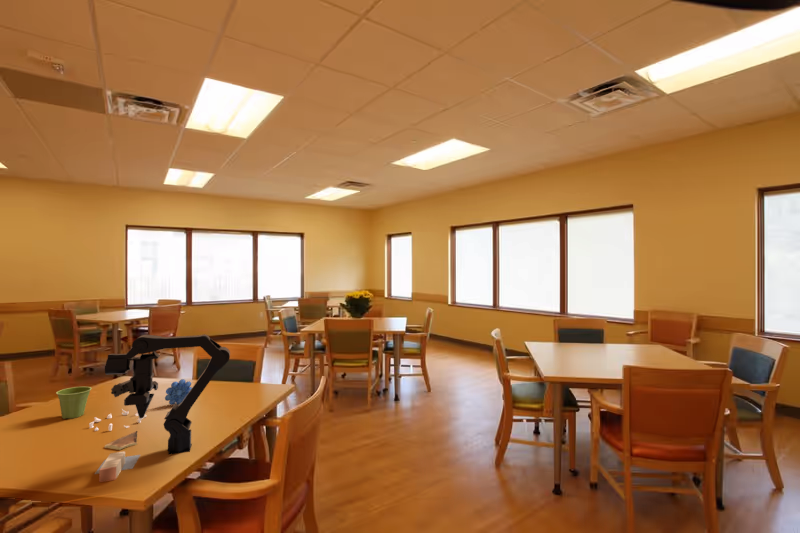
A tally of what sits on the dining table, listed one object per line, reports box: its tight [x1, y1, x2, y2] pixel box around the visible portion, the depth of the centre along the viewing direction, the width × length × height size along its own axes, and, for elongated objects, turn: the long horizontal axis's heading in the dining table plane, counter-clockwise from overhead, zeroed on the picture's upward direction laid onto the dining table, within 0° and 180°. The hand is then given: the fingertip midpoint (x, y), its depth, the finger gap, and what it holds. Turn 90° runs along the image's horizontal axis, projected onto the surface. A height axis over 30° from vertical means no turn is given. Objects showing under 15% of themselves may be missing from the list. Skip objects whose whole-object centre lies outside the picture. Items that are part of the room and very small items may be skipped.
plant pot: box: [55, 386, 93, 420], centre depth 166 cm, size 12×12×11 cm
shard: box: [104, 430, 138, 451], centre depth 141 cm, size 13×9×2 cm
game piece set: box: [88, 408, 148, 432], centre depth 160 cm, size 19×20×4 cm
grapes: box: [164, 378, 193, 406], centre depth 183 cm, size 12×7×12 cm, turn 115°
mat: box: [94, 454, 141, 475], centre depth 124 cm, size 10×10×1 cm
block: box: [98, 451, 126, 483], centre depth 119 cm, size 4×4×10 cm
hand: (141, 417), depth 131 cm, fingers closed
